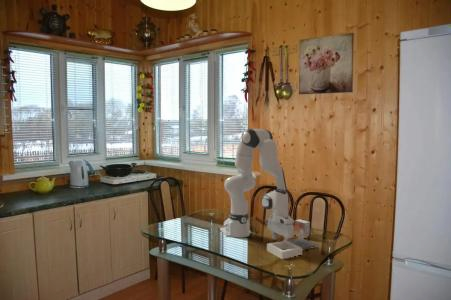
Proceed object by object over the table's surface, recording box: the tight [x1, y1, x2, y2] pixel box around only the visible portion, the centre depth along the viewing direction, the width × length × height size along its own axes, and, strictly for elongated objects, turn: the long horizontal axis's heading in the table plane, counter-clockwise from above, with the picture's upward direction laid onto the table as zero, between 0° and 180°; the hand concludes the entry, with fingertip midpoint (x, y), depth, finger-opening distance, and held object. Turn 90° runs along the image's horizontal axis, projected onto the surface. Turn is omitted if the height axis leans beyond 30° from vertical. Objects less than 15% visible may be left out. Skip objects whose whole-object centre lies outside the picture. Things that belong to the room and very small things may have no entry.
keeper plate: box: [287, 232, 319, 251], centre depth 206 cm, size 14×14×8 cm
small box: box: [294, 218, 311, 237], centre depth 223 cm, size 8×6×10 cm
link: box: [266, 240, 303, 260], centre depth 193 cm, size 14×14×4 cm
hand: (279, 241), depth 198 cm, fingers open, 8 cm apart
